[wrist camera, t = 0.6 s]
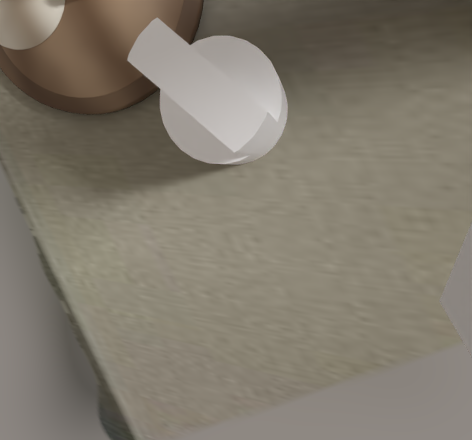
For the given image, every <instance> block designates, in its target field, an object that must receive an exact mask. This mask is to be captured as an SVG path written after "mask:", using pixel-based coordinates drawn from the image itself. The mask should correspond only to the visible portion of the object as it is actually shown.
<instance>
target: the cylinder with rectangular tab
mask: <svg viewBox="0 0 472 440" xmlns="http://www.w3.org/2000/svg"><path fill="white" fill-rule="evenodd" d="M127 61H129V62H130V63H131V64H132V65H133V66H134V67H136V68H137V69H138V70H139V71H140V72H141V73H142V74H144V75H145V76H146V77H147V78H148V79H149V80H151V81H152V82H153V83H154V84H155V85H156V86H158V87H159V88H160V89H161V90H160V111H161V116H162V120H163V124H164V126H165V128H166V130H167V132H168V134H169V136H170V138H171V139H172V140H173V141H174V143H175V144H176V145H177V146H178V147H179V148H180V149H181V150H182V151H183V152H185V153H186V154H188V155H189V156H191V157H192V158H194V159H197V160H200V161H203V162H206V163H211V164H235V165H240V164H244V163H249V162H253V161H254V160H256V159H258V158H260V157H262V156H264V155H265V154H266V153H267V152H268V151H270V150H271V149H272V148H273V147H274V146H275V144H276V143H277V141H278V140H279V138H280V137H281V135H282V133H283V130H284V127H285V124H286V121H287V108H288V105H287V100H286V95H285V91H284V89H283V86H282V84H281V81H280V79H279V77H278V75H277V73H276V71H275V69H274V67H273V65H272V63H271V61H270V60H269V59H268V58H267V56H266V55H265V54H264V53H263V52H262V51H261V50H260V49H259V48H257V47H256V46H254V45H253V44H251V43H249V42H248V41H246V40H244V39H240V38H236V37H233V36H211V37H208V38H204V39H201V40H198V41H196V42H194V43H193V44H191V45H189V44H188V43H187V42H186V41H185V40H183V39H182V38H181V37H180V36H179V35H177V34H176V33H175V32H174V31H173V30H172V29H170V28H169V27H168V26H167V25H166V24H165V23H163V22H162V21H161V20H160V19H159V18H156V19H154V20H153V21H151V23H150V24H149V25H148V26H147V27H146V28H145V29H144V30H143V31H142V32H141V34H140V35H139V36H138V38H137V39H136V41H135V43H134V45H133V47H132V49H131V51H130V53H129V55H128V59H127Z"/></svg>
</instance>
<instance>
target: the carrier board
mask: <svg viewBox="0 0 472 440" xmlns="http://www.w3.org/2000/svg"><path fill="white" fill-rule="evenodd" d="M203 2H204V0H0V68H1V69H2V71H3V72H4V73H5V75H6V76H7V77H8V78H9V79H10V80H11V81H12V82H13V83H14V84H15V85H16V86H17V87H18V88H20V89H21V90H22V91H23V92H25V93H26V94H27V95H29V96H30V97H32V98H34V99H35V100H37V101H39V102H41V103H43V104H45V105H48V106H50V107H52V108H56V109H60V110H63V111H67V112H72V113H79V114H87V115H88V114H105V113H111V112H116V111H119V110H122V109H125V108H128V107H130V106H132V105H134V104H137V103H139V102H141V101H142V100H144V99H145V98H147V97H148V96H150V95H151V94H153V93H154V92H155V91H157V90H158V89H159V87H158V86H156V85H155V84H154V83H153V82H152V81H151V80H149V79H148V78H147V77H146V76H145V75H144V74H142V73H141V72H140V71H139V70H138V69H137V68H136V67H134V66H133V65H132V64H131V63H130V62H129V61H127V59H128V55H129V53H130V51H131V49H132V47H133V45H134V43H135V41H136V39H137V38H138V36H139V35H140V34H141V32H142V31H143V30H144V29H145V28H146V27H147V26H148V25H149V24H150V23H151V21H153V20H154V19H156V18H159V19H160V20H161V21H162V22H163V23H165V24H166V25H167V26H168V27H169V28H170V29H172V30H173V31H174V32H175V33H176V34H177V35H179V36H180V37H181V38H182V39H183V40H185V41H186V42H187V43H188V44H189V45H191V44H192V43H193V40H194V38H195V35H196V32H197V29H198V27H199V23H200V19H201V14H202V10H203Z"/></svg>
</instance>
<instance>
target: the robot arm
mask: <svg viewBox="0 0 472 440" xmlns="http://www.w3.org/2000/svg"><path fill="white" fill-rule="evenodd" d="M440 303H441V305H442V306H443V308H444V310H445V312H446V313H447V315H448V317H449V318H450V320H451V322H452V324H453V325H454V327H455V329H456V331H457V332H458V334H459V336H460V338H461V339H462V341H463V343H464V345H465V346H466V348H467V350H468V352H469V353H470V355H471V357H472V223H471V225H470V228H469V230H468V232H467V235H466V237H465V240H464V242H463V245H462V247H461V250H460V252H459V254H458V257H457V259H456V262H455V264H454V267H453V269H452V272H451V274H450V276H449V279H448V281H447V284H446V286H445V289H444V291H443V294H442V296H441V298H440Z"/></svg>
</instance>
